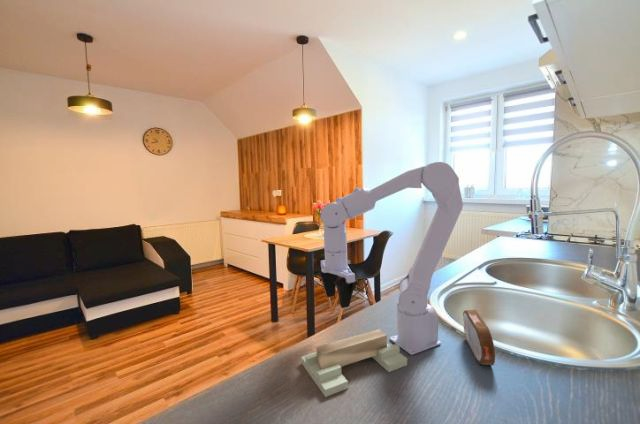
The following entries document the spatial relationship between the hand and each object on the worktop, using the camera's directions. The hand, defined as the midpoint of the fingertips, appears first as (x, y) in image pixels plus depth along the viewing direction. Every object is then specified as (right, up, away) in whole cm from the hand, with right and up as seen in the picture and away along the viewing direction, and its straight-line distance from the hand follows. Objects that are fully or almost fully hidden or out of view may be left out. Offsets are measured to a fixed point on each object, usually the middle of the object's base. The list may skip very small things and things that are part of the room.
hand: (337, 301), depth 78 cm
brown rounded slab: (+32, -10, -8) cm, 34 cm away
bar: (+3, -9, -11) cm, 15 cm away
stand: (+3, -11, -11) cm, 16 cm away
